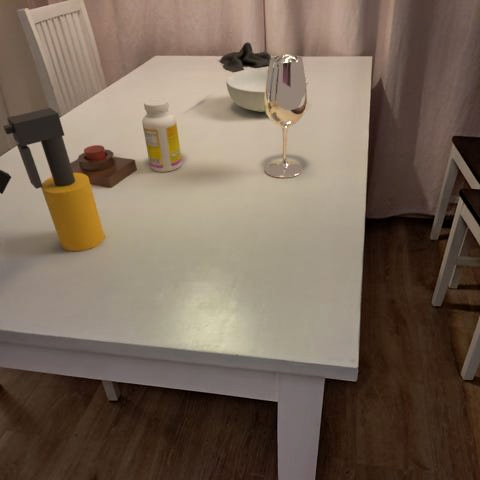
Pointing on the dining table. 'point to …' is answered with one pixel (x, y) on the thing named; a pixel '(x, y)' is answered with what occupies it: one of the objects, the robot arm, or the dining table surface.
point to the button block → (104, 169)
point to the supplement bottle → (161, 136)
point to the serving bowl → (249, 89)
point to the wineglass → (285, 104)
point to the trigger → (30, 166)
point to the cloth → (244, 59)
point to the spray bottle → (61, 181)
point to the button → (94, 152)
